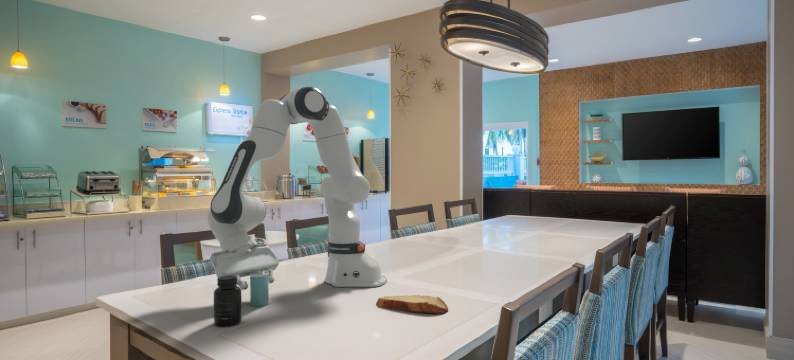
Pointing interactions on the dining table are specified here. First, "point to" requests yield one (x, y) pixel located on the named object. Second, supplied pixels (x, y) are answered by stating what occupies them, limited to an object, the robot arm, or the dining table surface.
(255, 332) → the dining table surface
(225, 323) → the supplement bottle
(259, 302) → the cup
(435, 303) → the slice of bread
